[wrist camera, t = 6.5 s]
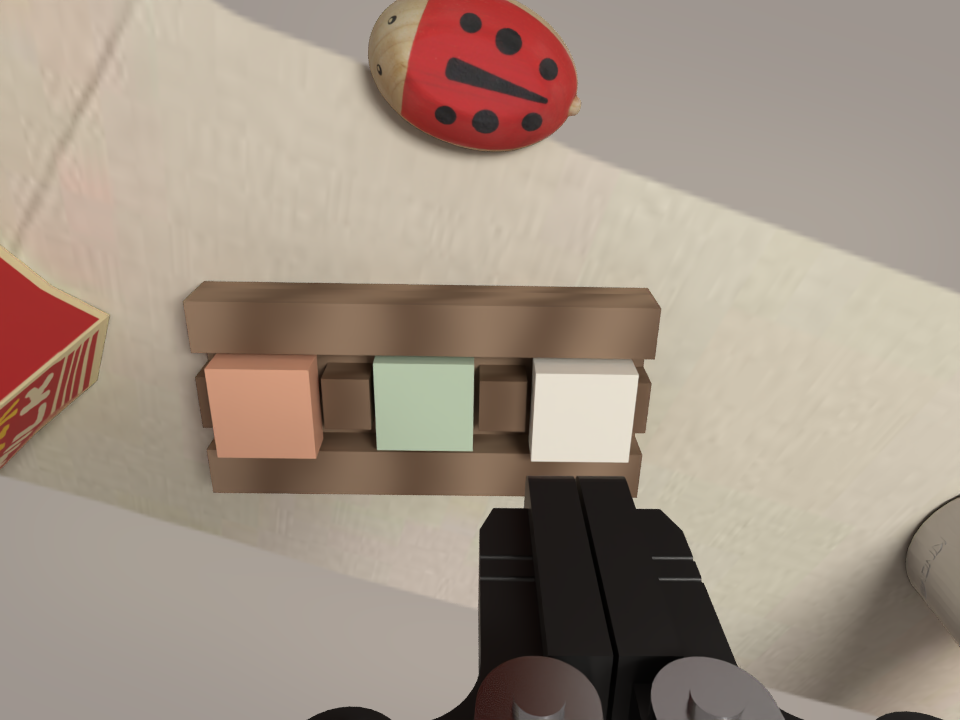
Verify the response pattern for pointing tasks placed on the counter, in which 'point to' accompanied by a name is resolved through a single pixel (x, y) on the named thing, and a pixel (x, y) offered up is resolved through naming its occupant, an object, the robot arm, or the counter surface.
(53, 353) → the milk carton
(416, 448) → the sage green key
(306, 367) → the terracotta key
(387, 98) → the ladybug figurine
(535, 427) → the ivory key
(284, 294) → the key board
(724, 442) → the counter surface
